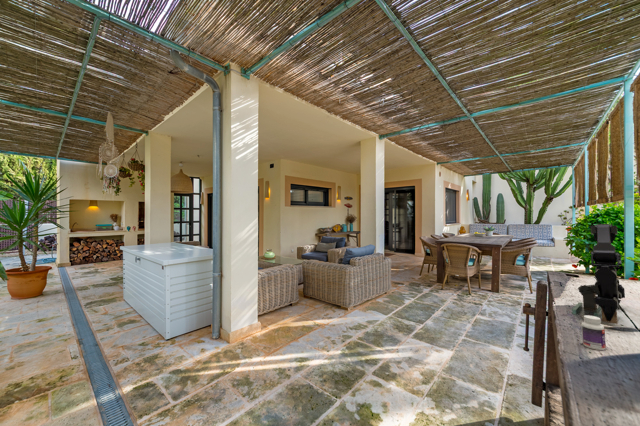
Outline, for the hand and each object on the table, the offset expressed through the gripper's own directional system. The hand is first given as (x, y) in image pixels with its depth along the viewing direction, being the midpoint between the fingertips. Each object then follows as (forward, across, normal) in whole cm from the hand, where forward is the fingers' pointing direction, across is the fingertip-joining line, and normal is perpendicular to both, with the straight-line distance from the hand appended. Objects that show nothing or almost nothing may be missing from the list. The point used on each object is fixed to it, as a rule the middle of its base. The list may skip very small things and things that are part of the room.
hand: (609, 318), depth 107 cm
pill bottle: (+2, +32, -1) cm, 32 cm away
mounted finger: (+1, -14, -7) cm, 16 cm away
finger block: (+2, 0, 0) cm, 2 cm away
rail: (+2, -9, -7) cm, 12 cm away
